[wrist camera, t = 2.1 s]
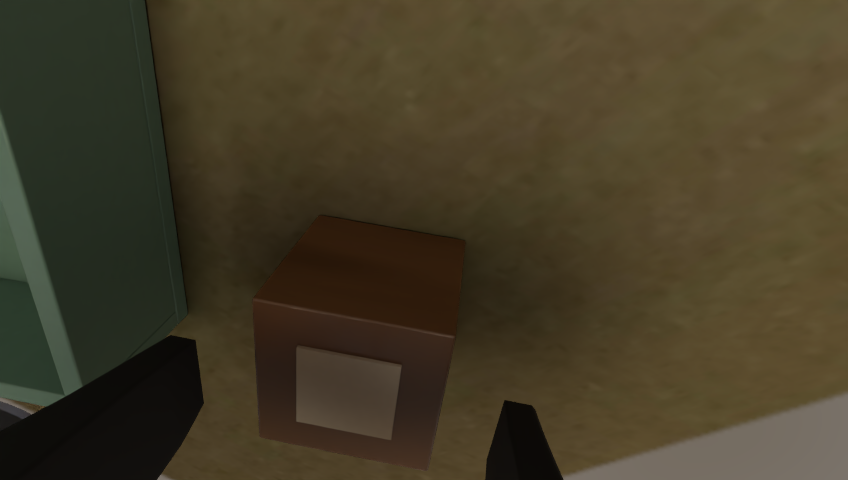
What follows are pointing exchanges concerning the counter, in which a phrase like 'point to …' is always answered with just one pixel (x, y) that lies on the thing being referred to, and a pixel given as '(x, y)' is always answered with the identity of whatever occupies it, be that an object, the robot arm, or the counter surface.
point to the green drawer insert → (81, 197)
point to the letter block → (358, 340)
